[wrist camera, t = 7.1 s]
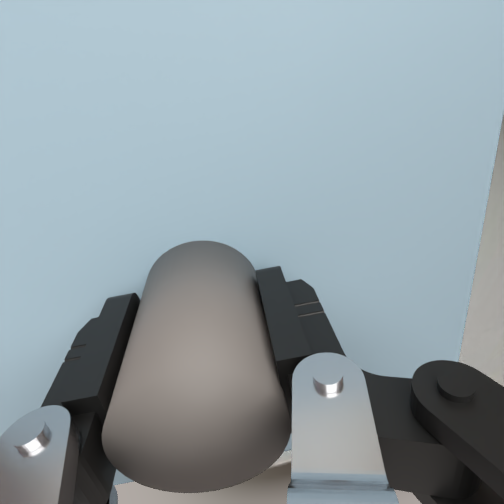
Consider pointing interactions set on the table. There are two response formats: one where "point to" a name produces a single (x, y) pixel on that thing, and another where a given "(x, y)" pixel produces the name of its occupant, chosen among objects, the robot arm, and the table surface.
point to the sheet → (237, 202)
